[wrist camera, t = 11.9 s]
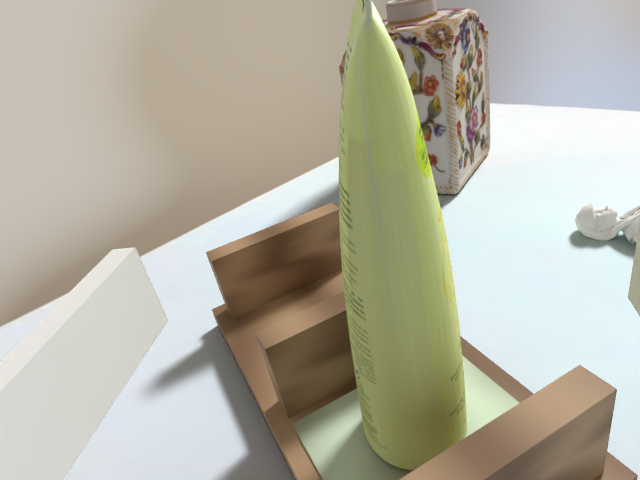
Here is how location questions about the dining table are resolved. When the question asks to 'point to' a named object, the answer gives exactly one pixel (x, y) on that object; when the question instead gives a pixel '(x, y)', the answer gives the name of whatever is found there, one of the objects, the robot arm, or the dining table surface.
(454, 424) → the tube
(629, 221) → the woman figurine
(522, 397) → the wooden letter rack
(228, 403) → the dining table surface
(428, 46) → the decorative jar
